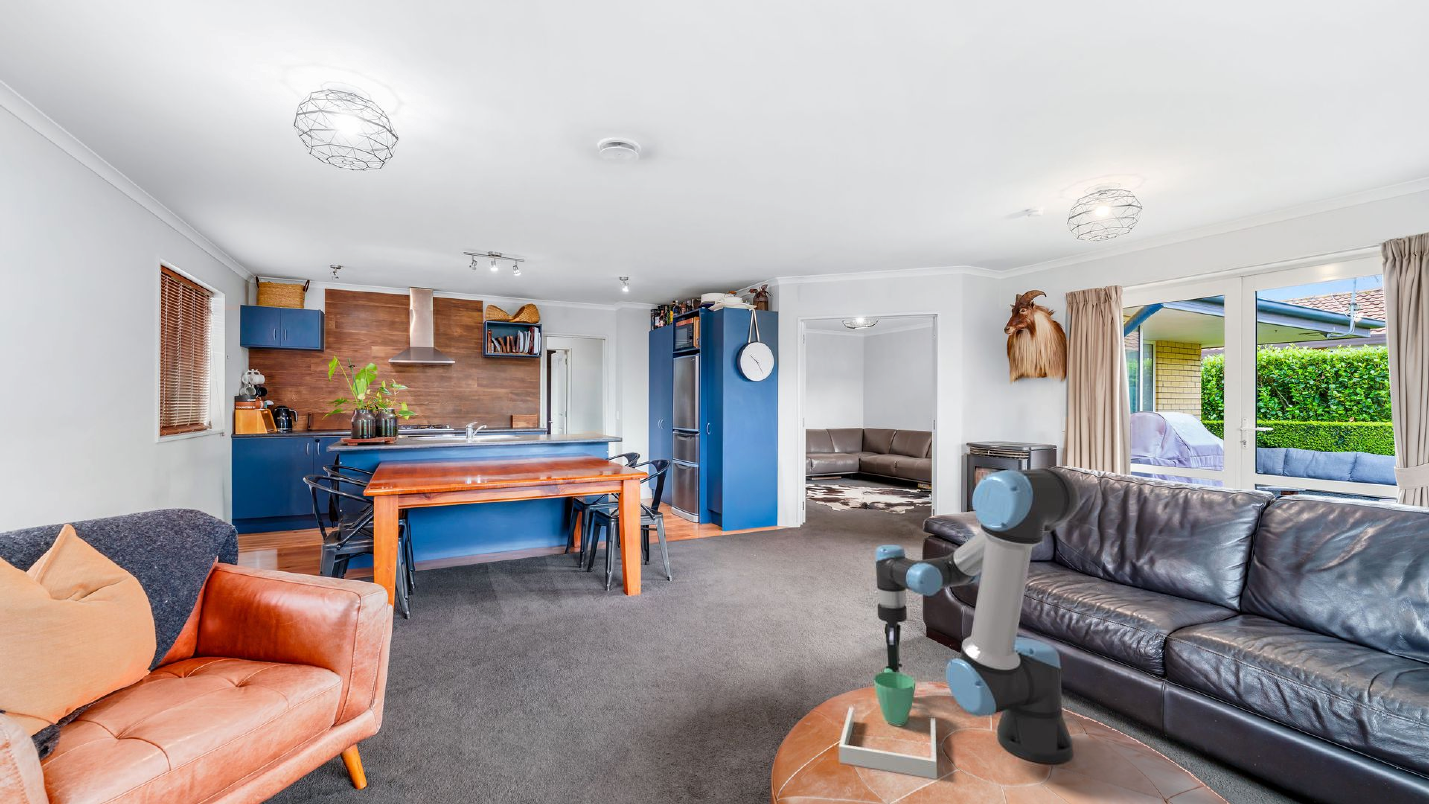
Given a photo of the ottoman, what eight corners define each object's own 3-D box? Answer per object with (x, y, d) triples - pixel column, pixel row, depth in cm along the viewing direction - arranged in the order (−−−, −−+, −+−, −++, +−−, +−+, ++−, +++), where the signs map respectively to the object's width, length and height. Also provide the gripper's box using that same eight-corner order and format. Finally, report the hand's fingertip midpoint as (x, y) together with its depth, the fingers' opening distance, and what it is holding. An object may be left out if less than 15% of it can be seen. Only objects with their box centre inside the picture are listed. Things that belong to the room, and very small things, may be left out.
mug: (921, 731, 141) (919, 689, 141) (879, 731, 142) (877, 688, 142) (906, 703, 156) (905, 664, 156) (868, 702, 156) (867, 664, 157)
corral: (935, 733, 140) (935, 718, 140) (936, 779, 122) (936, 761, 122) (849, 721, 147) (849, 706, 147) (839, 762, 129) (838, 746, 129)
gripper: (879, 596, 167) (882, 681, 166) (875, 610, 155) (878, 701, 154) (907, 598, 164) (910, 684, 163) (905, 612, 152) (908, 706, 151)
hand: (894, 692), depth 158 cm, fingers closed
